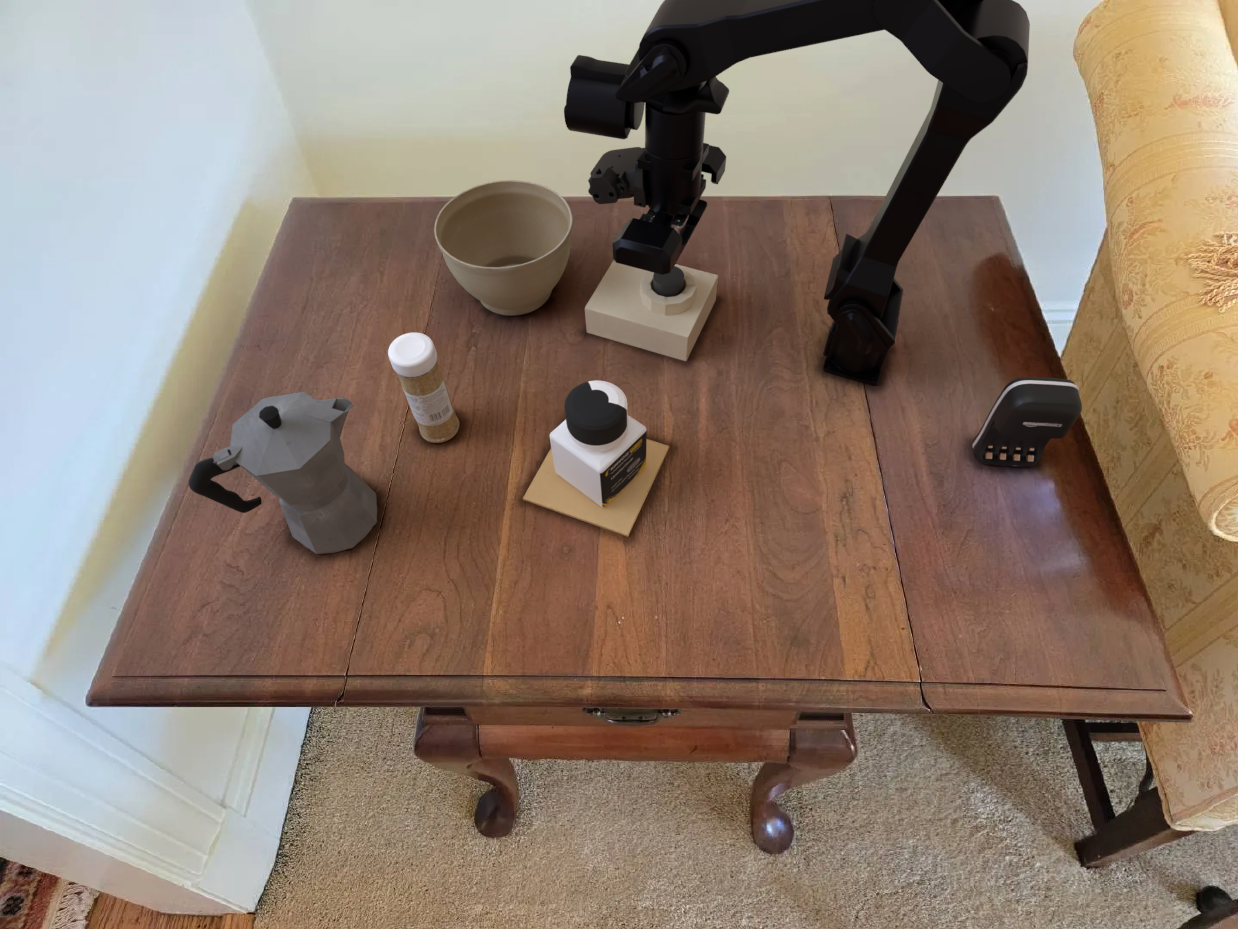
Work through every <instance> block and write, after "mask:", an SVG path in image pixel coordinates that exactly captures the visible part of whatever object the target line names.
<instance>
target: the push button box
mask: <svg viewBox="0 0 1238 929" xmlns="http://www.w3.org/2000/svg"><path fill="white" fill-rule="evenodd" d="M675 266H676V267H678V268H680V269H681V270H682V271H683V273H684V288H683V291H682V292H681V293H680V294H679V295H677V296H673V297H664V296H660V295H658V294H657V293H656V292H655V291H654V289H653V274H654V272H650V271H646V270H642V269H638V268H635V267H631V266H627V265H623V264H619V263H616V262H615V260H614V259H613V260H612V262H611V264H610V266H609V267H608V269H607V270H606V272H605V274H604V275H603V277H602V279H601V280H600V282H599V283H598V284H597V287H596V289H595V290H594V292H593V294H592V295H591V297H590V298H589V300H588V301H587V303H586V305H585V307H584V316H585V317H584V318H585V329H586V333H587V334H589V335H590V334H591V335H594V336H597V337H600V338H604V339H607V340H611V341H614V342H618V343H622V344H625V345H627V346H632V347H636V348H639V349H643V350H645V351H649V352H652V353H656V354H658V355H663V356H666V357H670V358H673V359H676V360H678V361H679V360H680V361H683V362H687V361H688V359H689V357H690V355H691V352H692V351H693V349H694V347H695V345H696V342H697V340H698V338H699V336H700V334H701V332H702V330H703V328H704V325H705V324H706V321H707V320H708V318H709V315H710V313H711V311H712V309H713V307H714V305H715V303H716V300H717V292H718V282H719V274H715V273H711V272H707V271H703V270H700V269H696V268H692V267H689V266H685V265H680V264H677V263H676V264H675Z"/></svg>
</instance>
